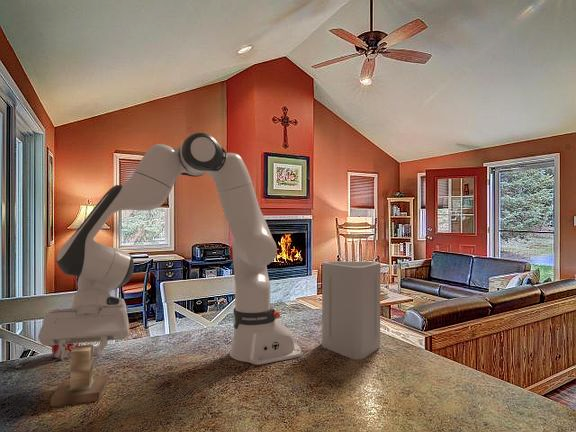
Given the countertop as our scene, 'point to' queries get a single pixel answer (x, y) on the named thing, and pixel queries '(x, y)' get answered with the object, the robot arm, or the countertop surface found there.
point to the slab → (79, 392)
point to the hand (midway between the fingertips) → (80, 357)
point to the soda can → (57, 350)
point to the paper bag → (351, 307)
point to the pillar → (81, 367)
